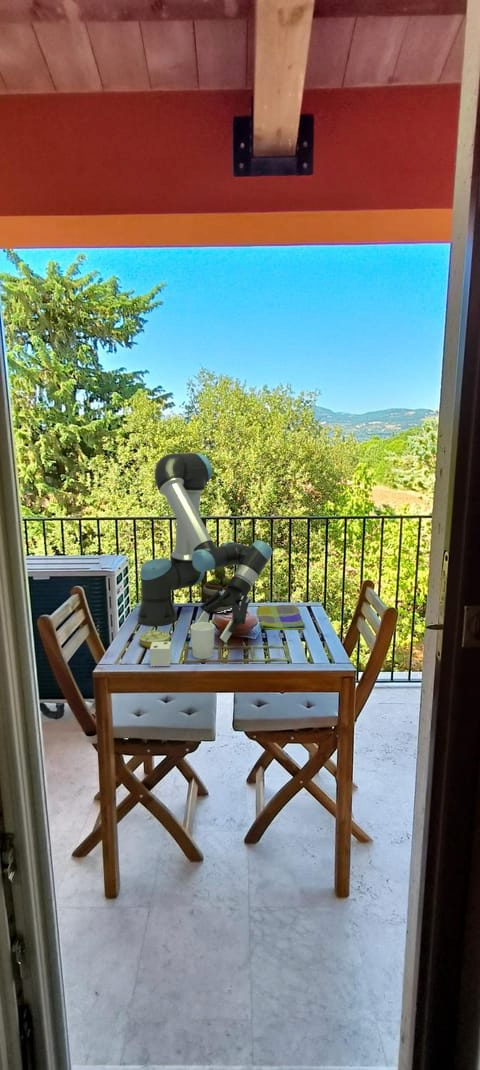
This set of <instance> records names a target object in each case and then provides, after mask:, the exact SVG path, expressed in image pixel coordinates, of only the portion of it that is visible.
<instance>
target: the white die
mask: <svg viewBox="0 0 480 1070" xmlns="http://www.w3.org/2000/svg"><path fill="white" fill-rule="evenodd" d="M149 660H150V661H149V662H150V664H149V665H150V666H149V667H150V668H155V667H154V666H170V667H171V664H170V663H172V660H173V659H172V641H169V642H152V644H151V647H150V648H149ZM152 666H153V667H152Z"/></svg>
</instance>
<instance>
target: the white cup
mask: <svg viewBox="0 0 480 1070" xmlns="http://www.w3.org/2000/svg"><path fill="white" fill-rule="evenodd" d="M215 628H216V626H215V624H214V623H212V622H209V621H206V622H199V623H196V622H195V623H192V624H191V625H190V641H191V647H192V649H191V651H192V656H193V658H194V659H195V658H196V660H207V659H210V658H212V657H213V656H214V651H215V649H214V646H215V633H216V631H215V630H216V629H215Z"/></svg>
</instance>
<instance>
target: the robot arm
mask: <svg viewBox="0 0 480 1070" xmlns="http://www.w3.org/2000/svg"><path fill="white" fill-rule="evenodd" d="M154 469H155V470H154V481H155V485H156V487H157V490H158V491H159V493H160V494H161V495H163V496H164V497H165V499H166V500H167V502H168V504H169V506H170V508H171V510H172V512H173V514H174V516H175V518H176V526H175V528H176V529H175V545H174V546H175V547H174V550H173V552H171V554H170V559H169V558H154V559H150V560H147V561H145V562H144V563H142V565H141V566H140V581H141V582H140V584H141V586H140V589H141V603H140V606H139V609H138V613H137V622H138V623H140V624H141V625H144V626H150V627H151V626H152V627H157V626H166V625H169V624H168V623H170V624H172V622H173V623H174V622H176V621H177V619H178V614H177V610H176V608H175V605H174V601H173V593H172V591H176V590H177V591H178V590H181V589H186V588H191V587H194V586H197V585H199V584H200V583H201V582H202V581H203V580H204V577H205V573H206V572H211V571H215V569H218V568H223V567H225V568H227V567H231V566H236V565H237V566H238V567H237V569H235V572H234V574H233V576H232V577H230V579H231V580H230V581H229V583H228V588H227V590H223V589H222V588H219V589H218V591H217V592H216V593H215V594H214V595H213V596H211V597H210V598H209V599H208V600H207V599H206V600H205V601H204V602H203V603H202V604H201V605H200V609H201V610H202V611H201V613H200V614H199V616H198V618H197V620H196V622H195V623H199V622H207V621H208V619H209V618H210V614H211V613H213V612H212V611H214V610H216V609H217V608H219V607H221V606H222V605H226V604H227V605H231V606H232V619H231V620H230V621H229V623H227V625H226V627H225V629H224V630H223V632H222V633H221V635H220V637H219V639H221V640H222V641H223V642H224V643H227V642H228V640H229V639H230V637H231V635H232V634H233V633H234V632H235V631H236V629H237V628H238V626H240V625H242V626H244V625H245V624H246V618H247V612H248V607H249V604H250V602H251V599H250V597H249V596H248V594H249V593H250V591H252V590H251V589H252V587H253V586H254V584H255V583H256V581H257V579H258V578H259V576H260V575H261V573H262V572H263V570H264V568H265V567H266V565H267V564H268V562H269V561H270V559H271V557H272V554H273V553H274V552H273V549H272V547H271V546H270V545H269V544H268V543H266V542H265V541H264V540H263V541H262V540H255V541H254V542H253V543H252V545H247V544H242V543H238V542H235V541H232V542H231V541H226V542H224V543H223V544H222V545H220V546H216V544H215V543H214V541H213V539H212V538H211V535H210V534H209V532H208V530H207V528H206V526H205V524H204V522H203V520H202V518H201V516H200V505H201V504H200V503H201V493H203V492H204V491H205V489H206V484H207V483H208V482H210V480H211V479H212V476H213V467H212V464H211V461H209V458H208V457H207V456H206V455H205V454H203V453H196V452H188V453H187V452H185V453H168V454H165V455H163V456H162V457H161V458H160V459H159V460H158V462H157V464H156V465H155V468H154ZM165 624H166V625H165Z"/></svg>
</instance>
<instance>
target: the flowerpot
mask: <svg viewBox="0 0 480 1070" xmlns="http://www.w3.org/2000/svg"><path fill="white" fill-rule="evenodd" d="M227 573H228V571H227V568H226V567H223V568H218V569H214V570H213V571H212V574H213V578H211V579H210V580H207V581H206V582H205V584H204V585H203V587H202V591H203V593H204V594H205V597H206V601H207V600H208V599H209V598H210V597H211V596H213V595H214V594H215V593H216V592H217V591H218V589H219V588H222V589H223V590H227V588H228V583H229V581H230V580H231V577H228V576H227ZM230 608H232V606H231V605H227V604H226V605H222V606H221V607H219V608H217V609H216V610H214V611H212V612H211V613H213V614H216V613H215V612H221V611H224V610H227V609H230Z"/></svg>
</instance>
